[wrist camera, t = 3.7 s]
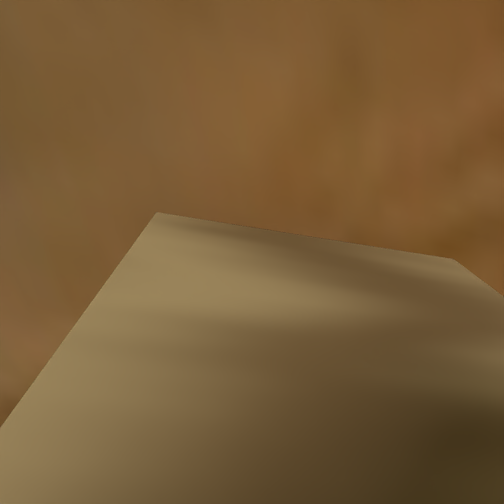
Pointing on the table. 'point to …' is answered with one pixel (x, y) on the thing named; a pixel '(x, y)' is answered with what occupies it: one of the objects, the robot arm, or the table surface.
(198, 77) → the table surface
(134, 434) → the oak cube
